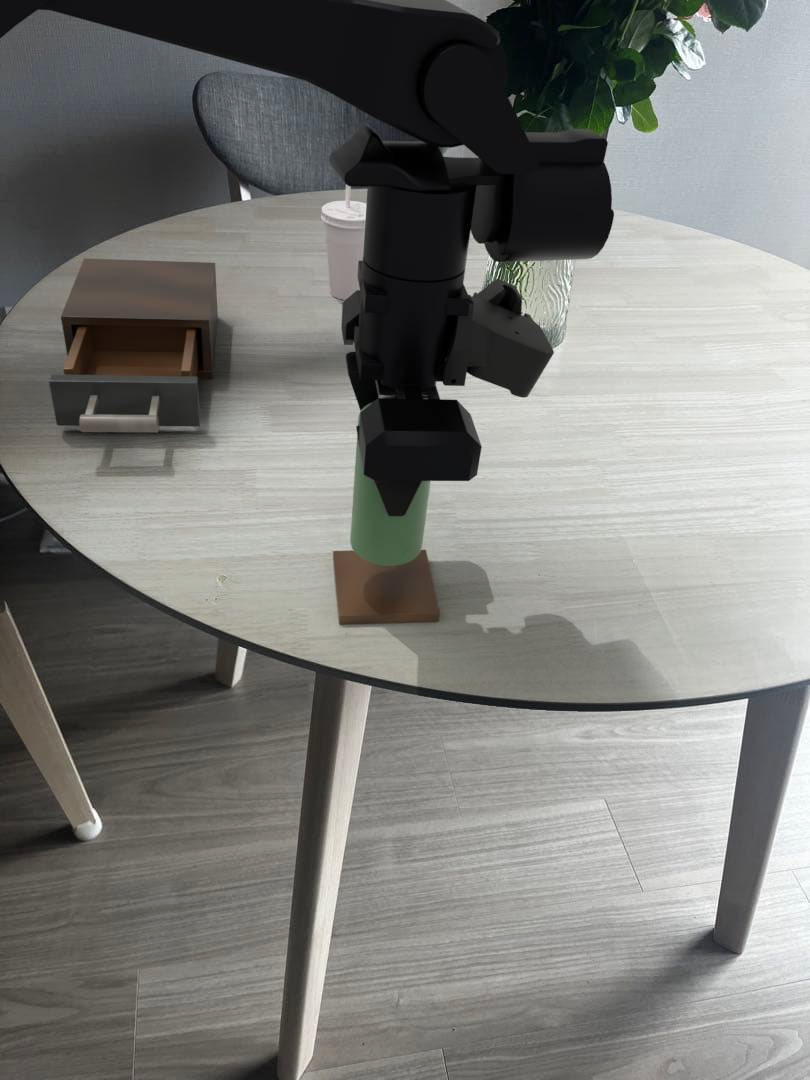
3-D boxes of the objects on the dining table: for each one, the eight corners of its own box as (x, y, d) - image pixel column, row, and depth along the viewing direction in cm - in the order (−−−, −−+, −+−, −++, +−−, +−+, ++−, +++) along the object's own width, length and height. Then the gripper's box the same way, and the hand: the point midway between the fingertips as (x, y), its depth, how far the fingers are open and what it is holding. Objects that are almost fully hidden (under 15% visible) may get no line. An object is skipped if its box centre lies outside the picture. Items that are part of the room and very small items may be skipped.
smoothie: (352, 278, 108) (358, 157, 99) (385, 298, 104) (394, 174, 96) (308, 288, 105) (310, 164, 96) (340, 309, 101) (345, 181, 92)
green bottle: (426, 566, 61) (445, 428, 54) (353, 566, 60) (362, 427, 53) (416, 521, 64) (433, 387, 58) (347, 521, 64) (356, 385, 57)
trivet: (338, 624, 62) (339, 615, 61) (332, 558, 67) (333, 550, 66) (438, 621, 63) (440, 613, 62) (425, 557, 68) (426, 549, 67)
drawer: (196, 456, 74) (193, 411, 72) (46, 456, 73) (37, 410, 70) (206, 359, 88) (204, 317, 85) (79, 356, 86) (73, 314, 83)
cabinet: (212, 378, 86) (209, 319, 83) (70, 376, 84) (60, 316, 81) (217, 317, 97) (215, 262, 93) (91, 314, 95) (83, 258, 91)
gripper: (602, 342, 44) (543, 582, 53) (518, 210, 58) (483, 418, 68) (375, 336, 42) (356, 585, 52) (346, 202, 56) (336, 416, 66)
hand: (391, 490), depth 59 cm, fingers closed on green bottle, 5 cm apart
